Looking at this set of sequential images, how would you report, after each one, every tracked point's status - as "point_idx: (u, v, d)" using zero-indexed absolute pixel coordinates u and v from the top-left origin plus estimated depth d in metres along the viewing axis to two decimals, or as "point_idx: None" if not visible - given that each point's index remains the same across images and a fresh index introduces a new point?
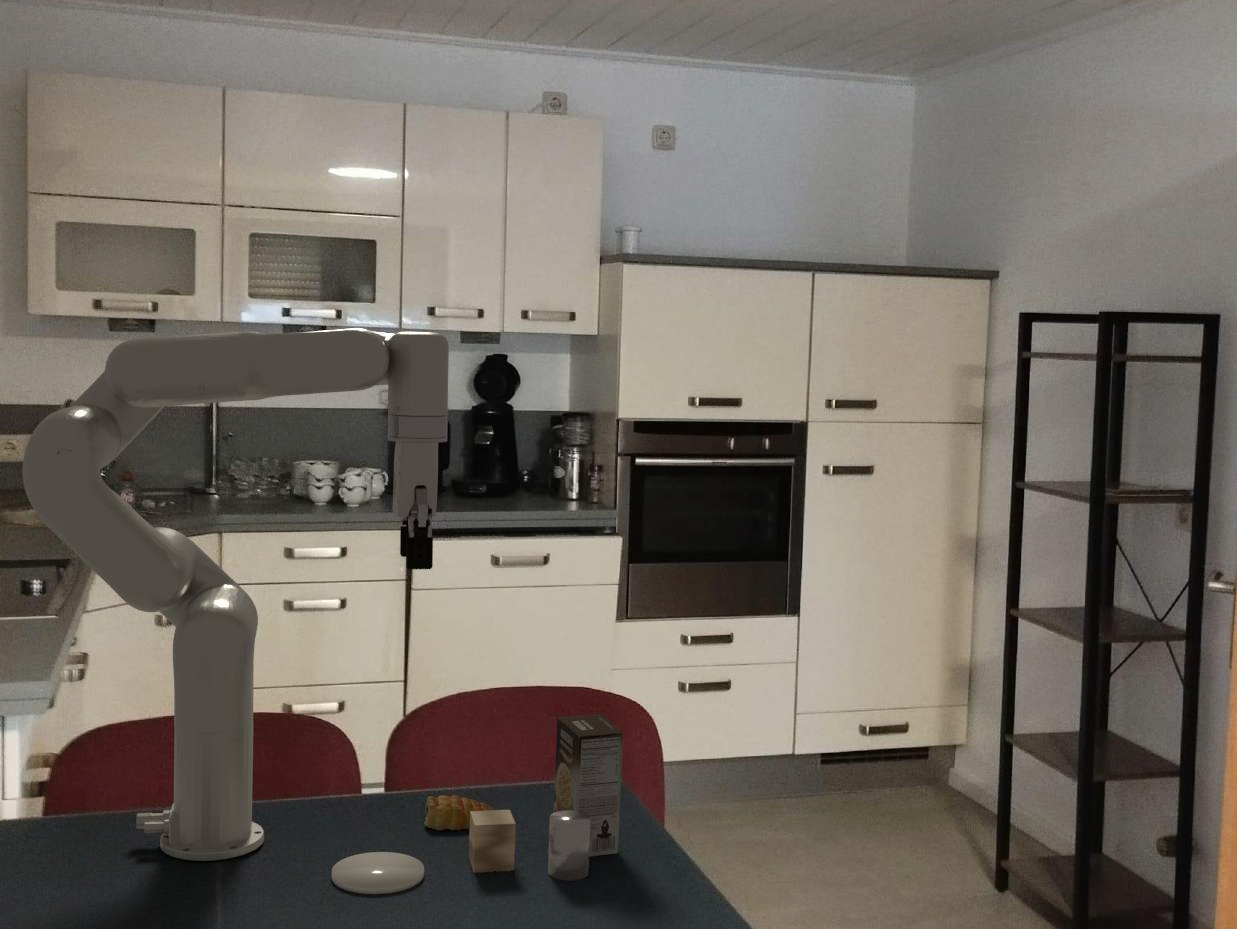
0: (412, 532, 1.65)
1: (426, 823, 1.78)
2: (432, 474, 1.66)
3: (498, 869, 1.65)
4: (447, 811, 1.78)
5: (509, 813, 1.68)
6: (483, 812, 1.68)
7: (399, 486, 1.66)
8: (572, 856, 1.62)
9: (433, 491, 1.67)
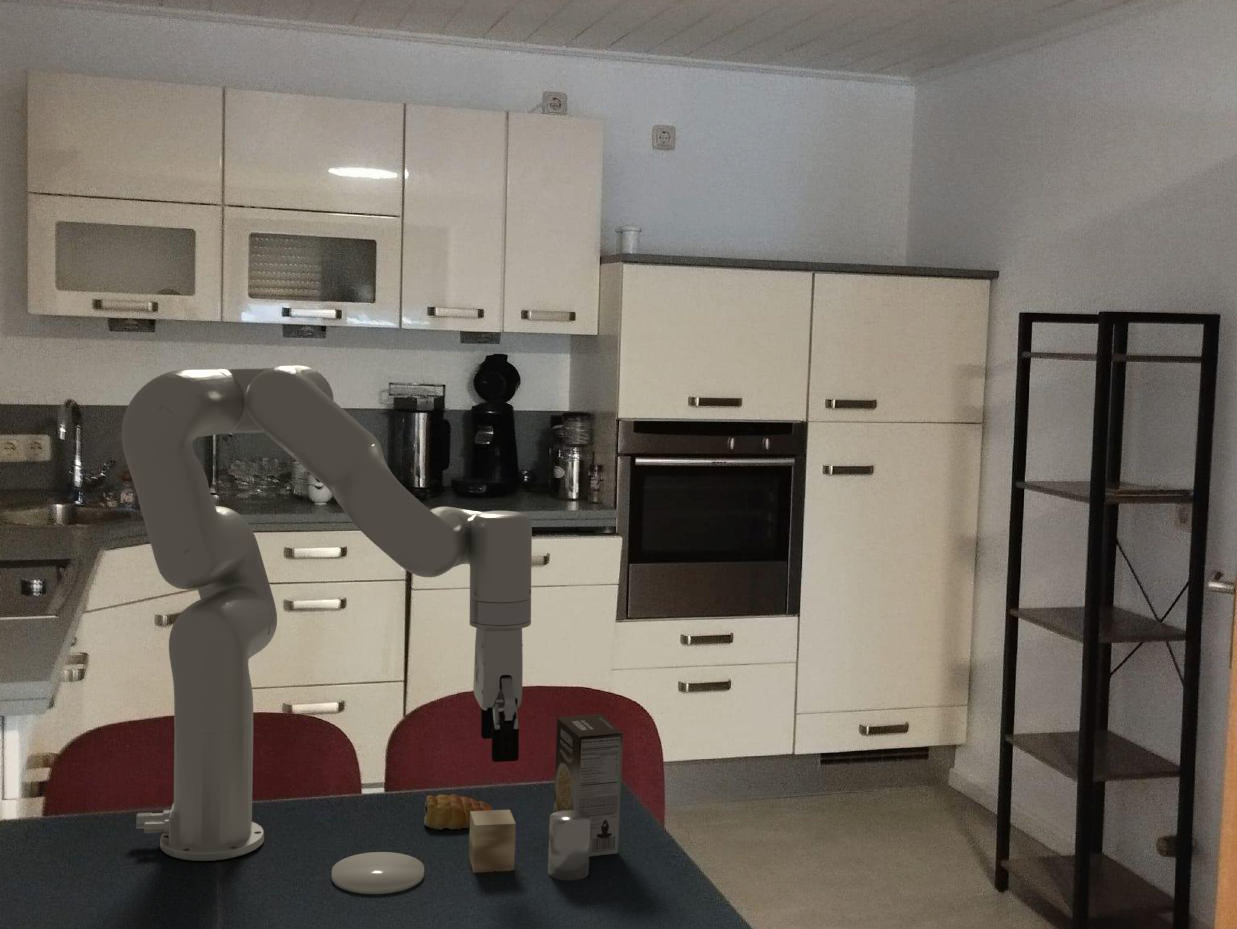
0: (498, 725, 1.59)
1: (425, 822, 1.78)
2: (517, 663, 1.60)
3: (498, 869, 1.65)
4: (446, 810, 1.78)
5: (509, 813, 1.68)
6: (483, 812, 1.68)
7: (483, 676, 1.60)
8: (572, 856, 1.62)
9: (519, 680, 1.60)
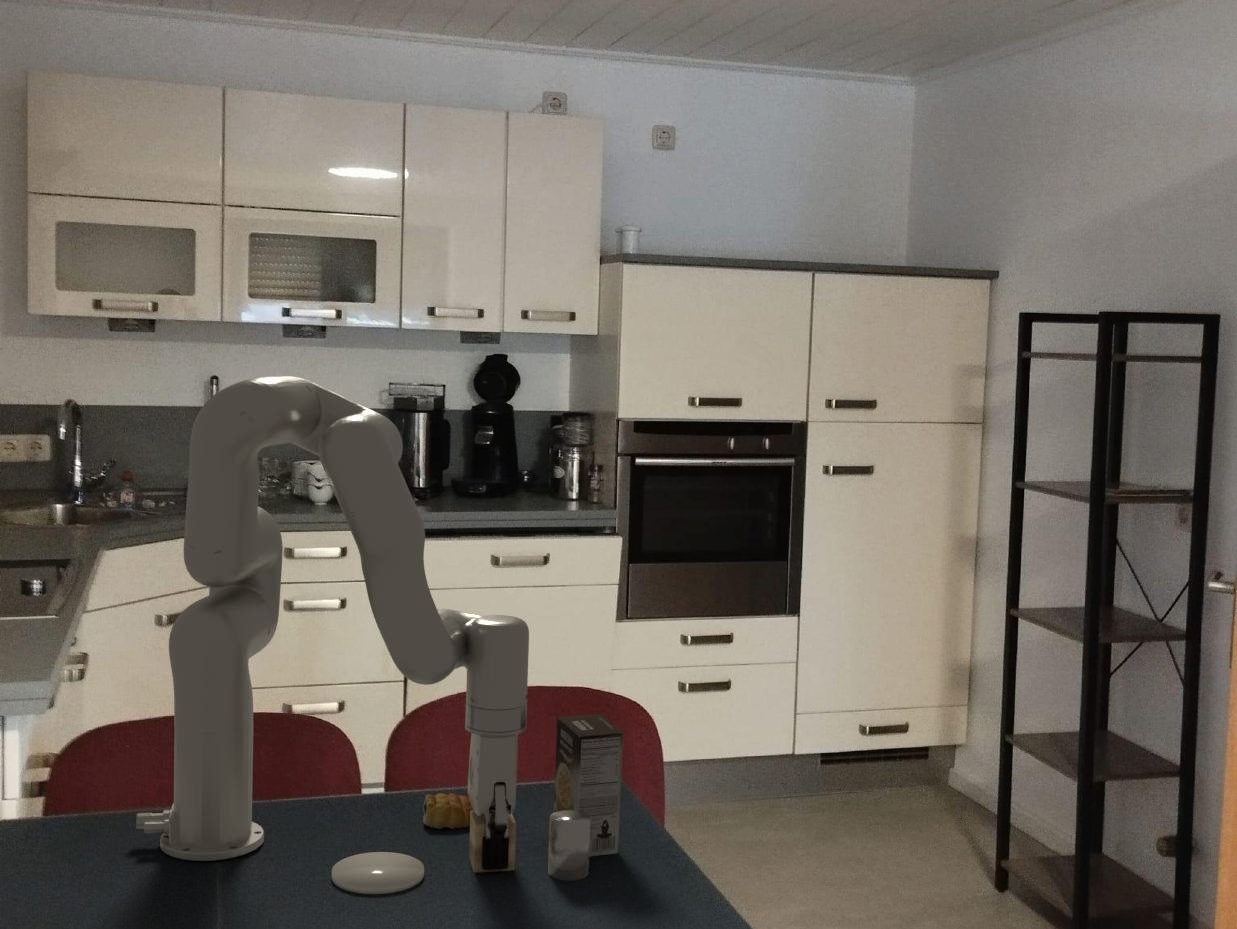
0: (488, 836, 1.62)
1: (425, 821, 1.78)
2: (512, 770, 1.61)
3: None
4: (445, 809, 1.78)
5: None
6: None
7: (478, 782, 1.61)
8: (572, 856, 1.62)
9: (513, 787, 1.61)
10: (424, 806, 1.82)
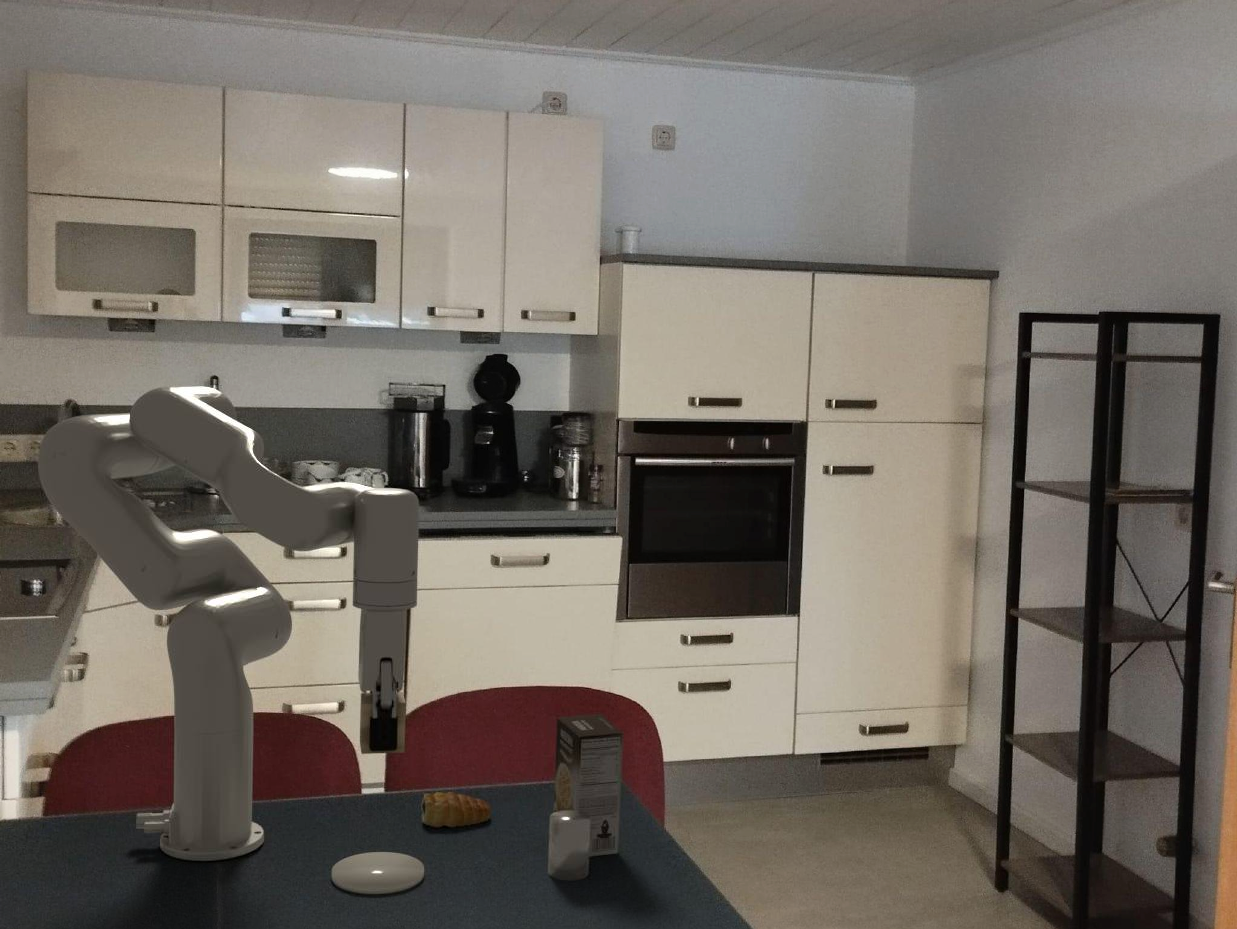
0: (375, 715, 1.56)
1: (424, 820, 1.78)
2: (399, 645, 1.55)
3: None
4: (444, 808, 1.79)
5: (401, 694, 1.61)
6: None
7: (363, 658, 1.54)
8: (572, 856, 1.62)
9: (400, 663, 1.55)
10: (422, 805, 1.82)
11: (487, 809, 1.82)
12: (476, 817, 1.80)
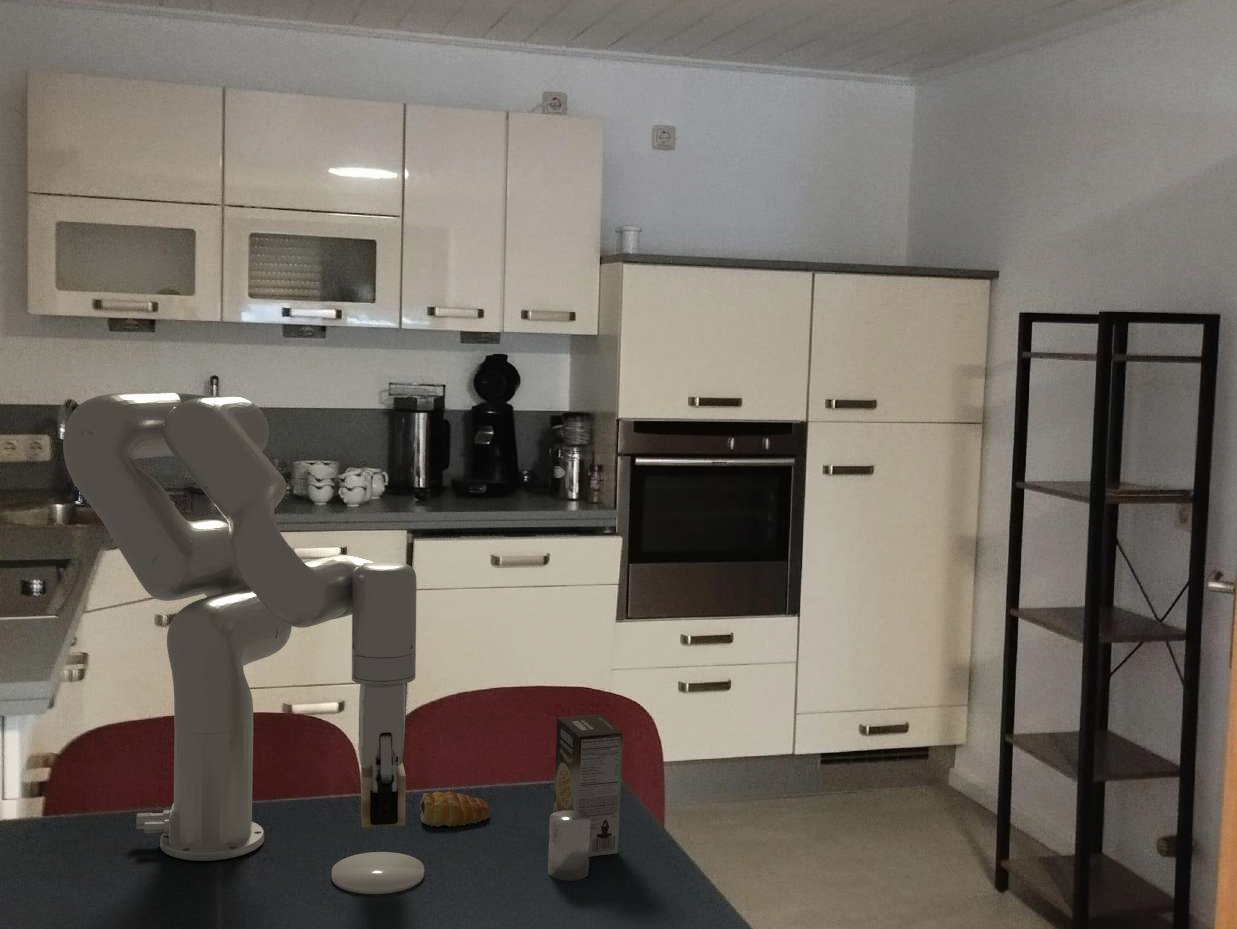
0: (375, 790, 1.56)
1: (423, 820, 1.79)
2: (398, 720, 1.56)
3: None
4: (444, 807, 1.79)
5: (401, 766, 1.62)
6: None
7: (363, 733, 1.55)
8: (572, 856, 1.62)
9: (399, 738, 1.56)
10: (421, 805, 1.82)
11: (486, 808, 1.82)
12: (476, 816, 1.80)
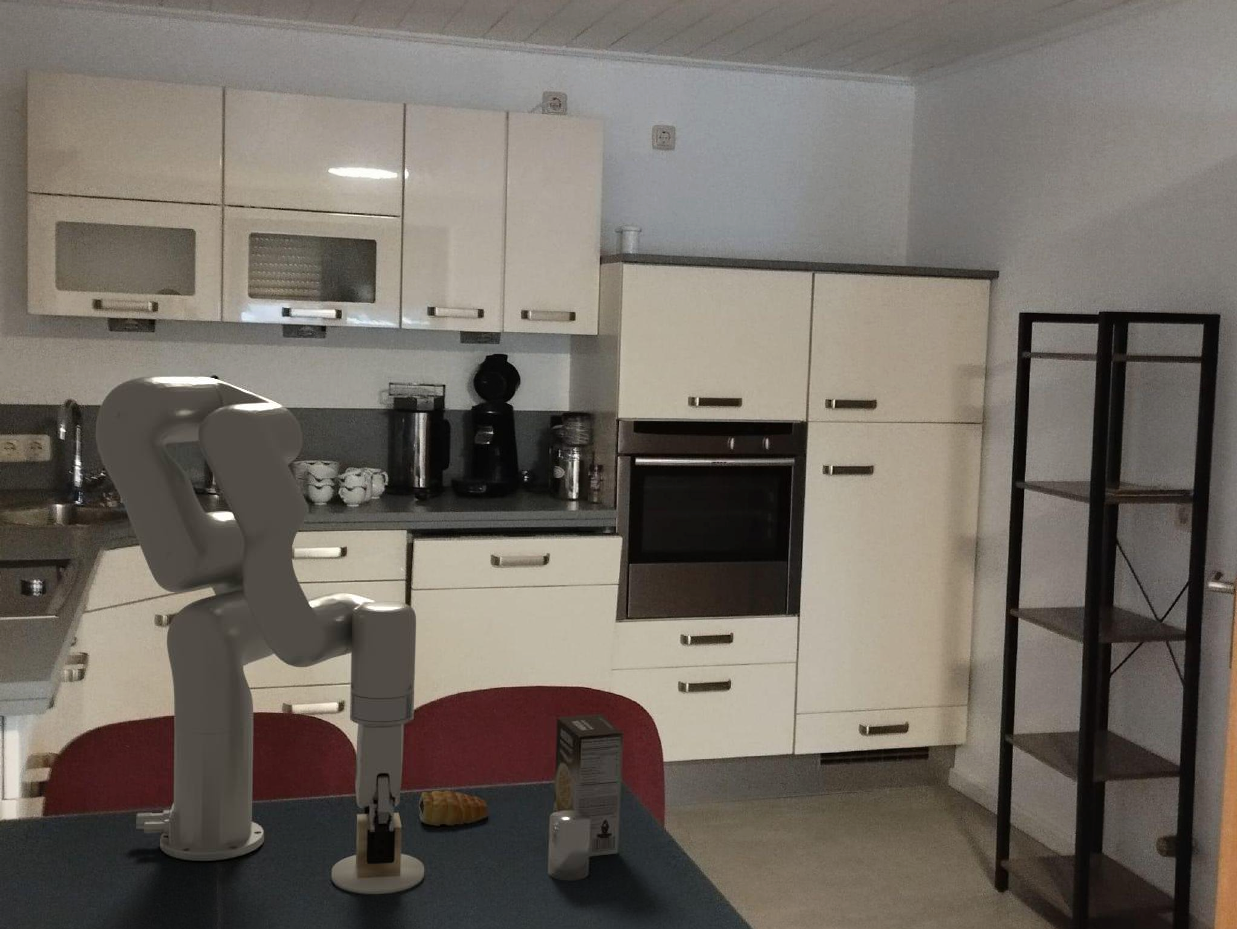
0: (373, 828, 1.56)
1: (422, 819, 1.79)
2: (396, 761, 1.56)
3: (383, 874, 1.59)
4: (443, 806, 1.79)
5: (397, 816, 1.63)
6: None
7: (360, 774, 1.56)
8: (572, 856, 1.62)
9: (396, 778, 1.56)
10: (420, 804, 1.82)
11: (485, 807, 1.82)
12: (475, 815, 1.81)
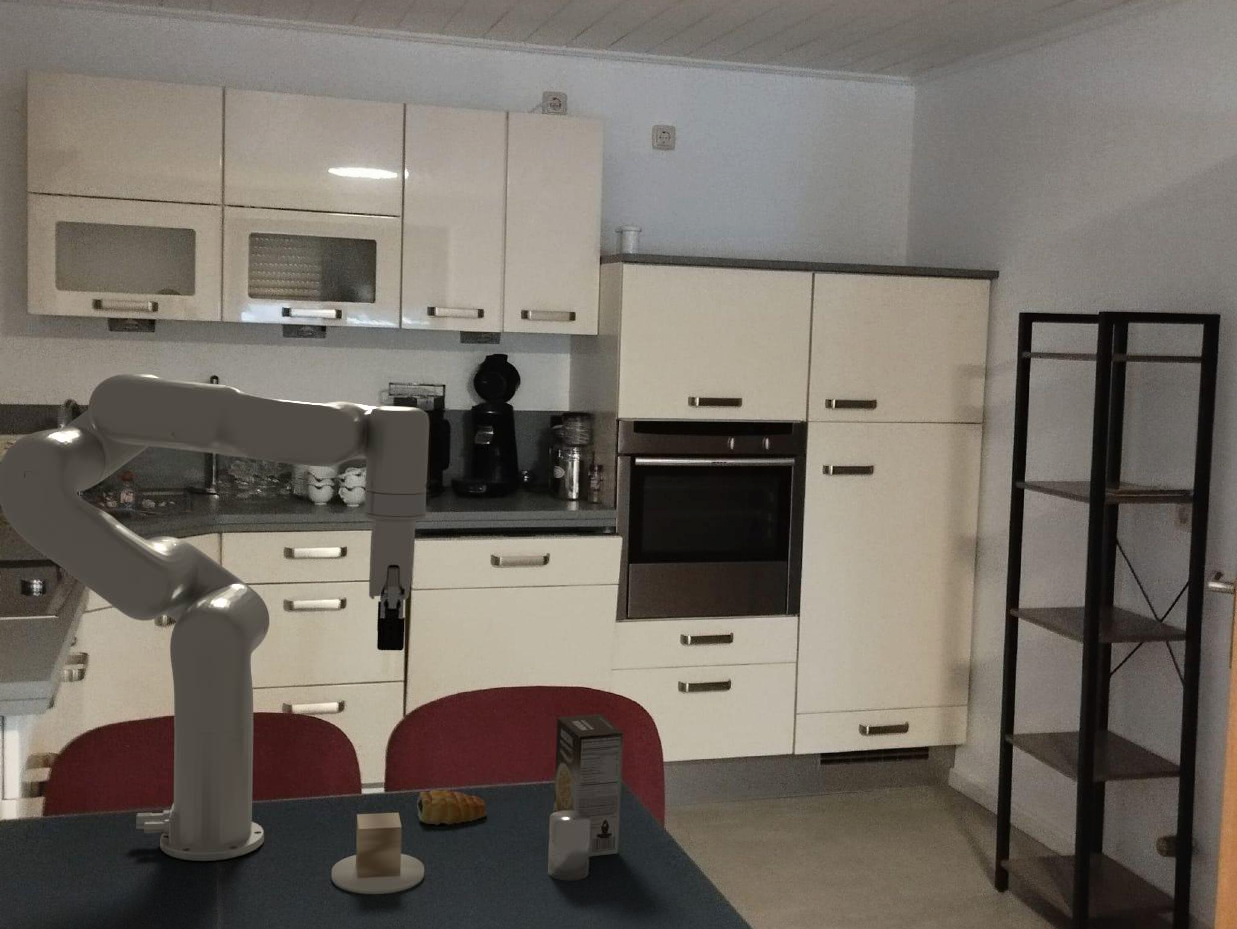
0: (383, 613, 1.62)
1: (421, 818, 1.79)
2: (406, 554, 1.63)
3: (383, 874, 1.59)
4: (442, 805, 1.80)
5: (397, 816, 1.63)
6: (370, 815, 1.63)
7: (372, 565, 1.63)
8: (572, 856, 1.62)
9: (406, 571, 1.63)
10: (418, 803, 1.83)
11: (483, 806, 1.83)
12: (473, 814, 1.81)
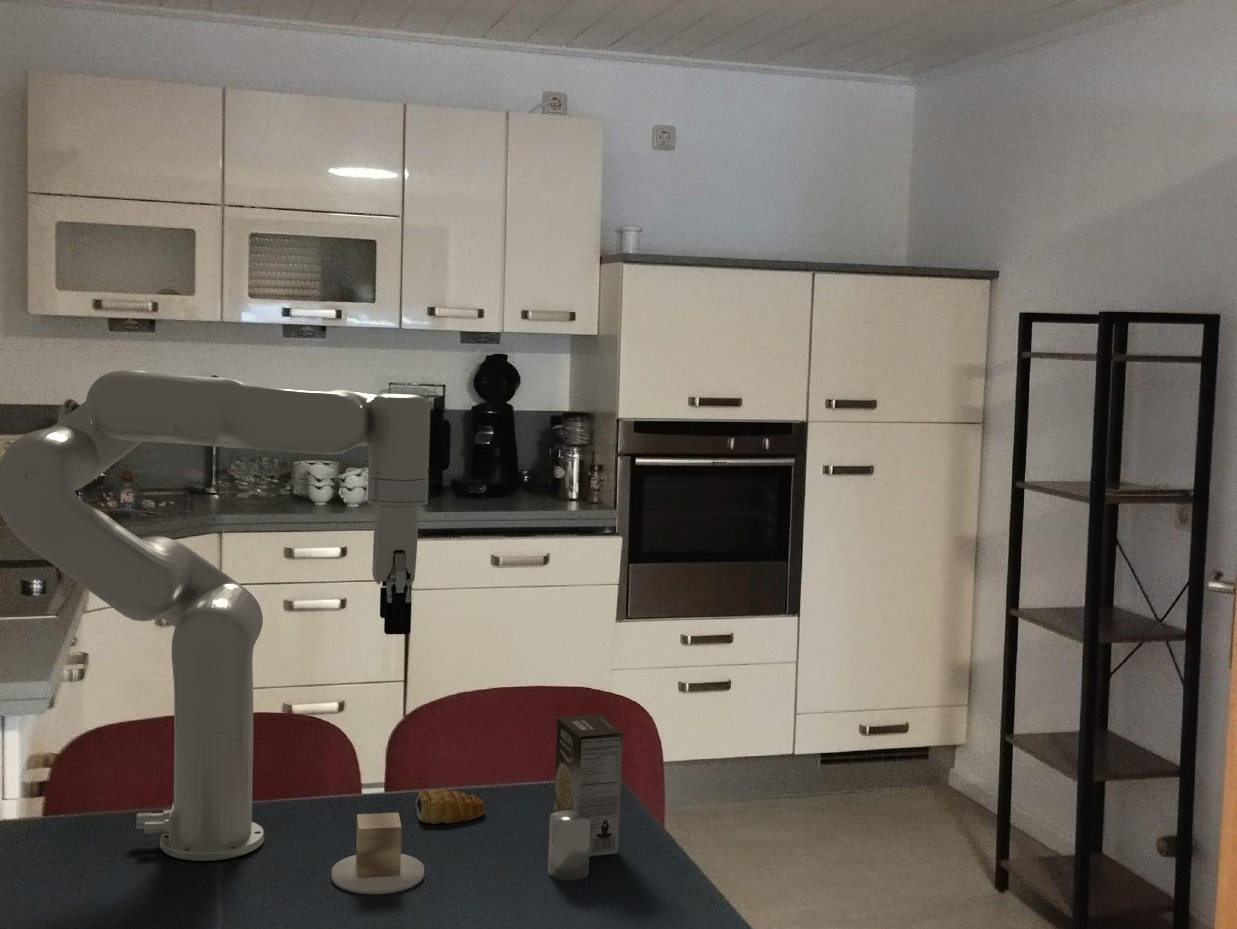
0: (390, 597, 1.64)
1: (420, 817, 1.80)
2: (411, 539, 1.65)
3: (383, 874, 1.59)
4: (441, 804, 1.80)
5: (397, 816, 1.63)
6: (370, 815, 1.63)
7: (378, 550, 1.65)
8: (572, 856, 1.62)
9: (412, 556, 1.65)
10: (417, 802, 1.83)
11: (482, 805, 1.83)
12: (472, 813, 1.82)
